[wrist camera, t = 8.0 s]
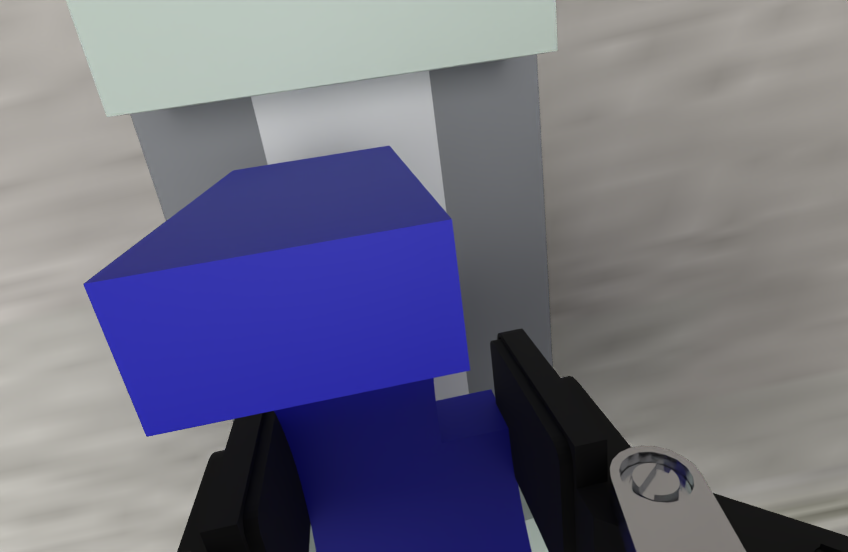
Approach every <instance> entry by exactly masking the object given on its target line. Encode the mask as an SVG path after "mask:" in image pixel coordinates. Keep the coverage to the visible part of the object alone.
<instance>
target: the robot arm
mask: <svg viewBox="0 0 848 552" xmlns="http://www.w3.org/2000/svg"><path fill="white" fill-rule="evenodd" d="M490 350H491V360H492V370H493V380H494V390H495V399H496V405H497V406H498V408H499V410H500V412H501V414H502V416H503V418H504V420H505V422H506V424H507V426H508V428H509V438H510V446H511V454H512V461H513V468H514V474H515V479H516V481H517V483H518V485H519V487H520V490H521V492H522V494H523V496H524V498H525V501H526V503H527V505H528V507H529V509H530V512H531V514H532V516H533V518H534V520H535V523H536V525H537V527H538V529H539V531H540V534H541V536H542V538H543V540H544V542H545V545H546V547H547V549H548V551H549V552H848V536H845V535H842V534H839V533H836V532H833V531H830V530H826V529H823V528H820V527H817V526H814V525H811V524H808V523H805V522H802V521H798V520H795V519H792V518H789V517H786V516H783V515H780V514H777V513H774V512H770V511H767V510H764V509H761V508H758V507H755V506H752V505H749V504H745V503H742V502H739V501H736V500H733V499H730V498H727V497H724V496H721V495H717V494H714V493H712V491H711V489H710V487H709V486H708V484H707V482H706V480H705V479H704V477H703V475H702V474H701V472H700V471H699V470H698V469H697V467H696V466H695V465H694V464H693V463H692V462H690V461H689V460H688V459H686V458H685V457H684V456H682V455H680V454H678V453H675V452H673V451H671V450H668V449H664V448H660V447H656V446H638V447H632V448H631V447H630V445H629V444H628V443H627V442H626V441H625V439H624V438H623V437H622V436H621V434H620V433H619V432H618V431H617V430H616V428H615V427H614V426H613V425H612V423H611V422H610V421H609V420H608V418H607V417H606V416H605V415H604V414H603V412H602V411H601V410H600V409H599V407H598V406H597V405H596V404H595V402H594V401H593V400H592V399H591V398H590V396H589V395H588V394H587V393H586V391H585V390H584V389H583V388H582V386H581V385H580V384H579V383H578V382H577V380H576V379H574V378H573V377H571V376H568V377H563V378H560V377H559V375H558V374H557V373H556V371H555V370H554V369H553V368H552V366H551V365H550V364H549V362H548V361H547V360H546V358H545V357H544V356H543V354H542V353H541V352H540V351H539V349H538V348H537V347H536V345H535V344H534V343H533V341H532V340H531V339H530V337H529V336H528V335H527V334H526V332H525V331H524V330H523V329H516V330H511V331H506V332H501V333H498V335H497V340H493V341H491V342H490ZM310 527H311V523H310V518H309V514H308V509H307V505H306V501H305V497H304V493H303V489H302V485H301V481H300V478H299V474H298V471H297V468H296V464H295V461H294V458H293V455H292V452H291V449H290V446H289V444H288V441H287V439H286V436H285V433H284V431H283V429H282V427H281V424H280V422H279V420H278V418H277V416H276V414H275V412H274V411H270V412H265V413H260V414H255V415H250V416H245V417H240V418H236V419H234V422H233V426H232V429H231V432H230V435H229V439H228V442H227V445H226V448H225V450H223V451H218V452H214V453H213V454H212V455H211V457H210V459H209V461H208V464H207V467H206V470H205V472H204V475H203V478H202V481H201V484H200V487H199V490H198V493H197V496H196V499H195V502H194V505H193V508H192V510H191V513H190V516H189V519H188V522H187V525H186V528H185V531H184V534H183V537H182V540H181V543H180V545H179V548H178V551H177V552H309V544H310Z"/></svg>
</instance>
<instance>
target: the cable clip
mask: <svg viewBox="0 0 848 552" xmlns="http://www.w3.org/2000/svg"><path fill="white" fill-rule="evenodd" d="M84 287H85V289H86V292H87V294H88V297H89V299H90V301H91V304H92V306H93V309H94V311H95V313H96V316H97V318H98V321H99V323H100V325H101V328H102V330H103V333H104V335H105V337H106V340H107V342H108V345H109V347H110V350H111V352H112V354H113V357H114V359H115V362H116V364H117V366H118V369H119V371H120V374H121V376H122V378H123V381H124V383H125V386H126V388H127V390H128V393H129V395H130V398H131V400H132V403H133V405H134V407H135V410H136V412H137V415H138V417H139V419H140V422H141V424H142V427H143V429H144V431H145V434H146V436H147V437H148V436H153V435H157V434H162V433H167V432H172V431H177V430H182V429H187V428H192V427H197V426H201V425H206V424H211V423H216V422H221V421H226V420H231V419H236V418H240V417H245V416H250V415H255V414H260V413H265V412H270V411H274V412H275V414H276V416H277V418H278V420H279V422H280V424H281V427H282V429H283V431H284V433H285V436H286V439H287V441H288V444H289V446H290V449H291V452H292V455H293V458H294V461H295V464H296V468H297V471H298V474H299V478H300V481H301V485H302V489H303V493H304V497H305V501H306V505H307V509H308V514H309V518H310V523H311V528H312V533H313V538H314V543H315V548H316V552H532V550H531V546H530V542H529V537H528V532H527V528H526V523H525V518H524V513H523V508H522V503H521V498H520V492H519V486H518V483H517V481H516V479H515V474H514V468H513V461H512V454H511V446H510V438H509V428H508V426H507V424H506V422H505V420H504V418H503V416H502V414H501V412H500V410H499V408H498V406H497V405H496V399H495V396H494V394H493V392H492V390H491V389H490V390H485V391H480V392H476V393H471V394H466V395H461V396H457V397H452V398H447V399H442V400H437V401H436V398H435V388H434V378H436V377H441V376H446V375H450V374H455V373H460V372H465V371H470V364H469V356H468V348H467V340H466V331H465V323H464V315H463V306H462V298H461V290H460V282H459V273H458V265H457V257H456V248H455V240H454V232H453V224H452V219H451V218H450V216H449V215H448V214H447V213H446V212H445V210H444V209H443V208H442V207H441V206H440V205H439V203H438V202H437V201H436V200H435V199H434V197H433V196H432V195H431V194H430V193H429V192H428V190H427V189H426V188H425V187H424V186H423V185H422V183H421V182H420V181H419V180H418V179H417V177H416V176H415V175H414V174H413V173H412V172H411V170H410V169H409V168H408V167H407V166H406V164H405V163H404V162H403V161H402V160H401V159H400V157H399V156H398V155H397V154H396V153H395V151H394V150H393V149H392V148H391V147H390V146H383V147H376V148H370V149H364V150H357V151H351V152H345V153H339V154H332V155H326V156H320V157H314V158H307V159H301V160H295V161H289V162H282V163H276V164H270V165H264V166H257V167H251V168H245V169H239V170H233V171H231V172H230V173H229V174H227V175H226V176H225V177H224V178H222V179H221V180H220V181H218V182H217V183H216V184H214V185H213V186H212V187H210V188H209V189H208V190H206V191H205V192H204V193H202V194H201V195H200V196H199V197H197V198H196V199H195V200H193V201H192V202H191V203H189V204H188V205H187V206H185V207H184V208H183V209H181V210H180V211H179V212H177V213H176V214H175V215H174V216H172V217H171V218H170V219H168V220H167V221H166V222H164V223H163V224H162V225H160V226H159V227H158V228H156V229H155V230H154V231H152V232H151V233H150V234H148V235H147V236H146V237H145V238H143V239H142V240H141V241H139V242H138V243H137V244H135V245H134V246H133V247H131V248H130V249H129V250H127V251H126V252H125V253H123V254H122V255H121V256H120V257H118V258H117V259H116V260H114V261H113V262H112V263H110V264H109V265H108V266H106V267H105V268H104V269H102V270H101V271H100V272H98V273H97V274H96V275H95V276H93V277H92V278H91V279H89V280H88V281H87V282H85V283H84Z"/></svg>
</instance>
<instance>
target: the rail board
mask: <svg viewBox="0 0 848 552" xmlns="http://www.w3.org/2000/svg"><path fill="white" fill-rule="evenodd" d="M66 2H67V5H68V8H69V11H70V14H71V17H72V19H73V22H74V25H75V28H76V31H77V34H78V37H79V39H80V42H81V45H82V48H83V51H84V54H85V56H86V59H87V62H88V65H89V68H90V71H91V73H92V76H93V79H94V82H95V85H96V88H97V91H98V93H99V96H100V99H101V102H102V105H103V108H104V110H105V113H106V116H107V117H110V116H118V115H126V114H130V115H131V118H132V121H133V124H134V127H135V130H136V133H137V136H138V139H139V142H140V145H141V148H142V151H143V154H144V157H145V160H146V163H147V166H148V169H149V171H150V174H151V177H152V180H153V183H154V186H155V189H156V192H157V195H158V198H159V201H160V204H161V207H162V210H163V213H164V216H165V219H166V221H167V220H168V219H170V218H171V217H172V216H174V215H175V214H176V213H177V212H179V211H180V210H181V209H183V208H184V207H185V206H187V205H188V204H189V203H191V202H192V201H193V200H195V199H196V198H197V197H199V196H200V195H201V194H202V193H204V192H205V191H206V190H208V189H209V188H210V187H212V186H213V185H214V184H216V183H217V182H218V181H220V180H221V179H222V178H224V177H225V176H226V175H227V174H229V173H230V172H231V171H233V170H239V169H245V168H251V167H257V166H264V165H270V164H276V163H282V162H289V161H295V160H301V159H307V158H314V157H320V156H326V155H332V154H339V153H345V152H351V151H357V150H364V149H370V148H376V147H383V146H390V147H391V148H392V149H393V150H394V151H395V153H396V154H397V155H398V156H399V157H400V159H401V160H402V161H403V162H404V163H405V164H406V166H407V167H408V168H409V169H410V170H411V172H412V173H413V174H414V175H415V176H416V177H417V179H418V180H419V181H420V182H421V183H422V185H423V186H424V187H425V188H426V189H427V190H428V192H429V193H430V194H431V195H432V196H433V197H434V199H435V200H436V201H437V202H438V203H439V205H440V206H441V207H442V208H443V209H444V210H445V212H446V213H447V214H448V215H449V216H450V218H451V219H452V224H453V232H454V240H455V248H456V257H457V265H458V273H459V282H460V290H461V298H462V306H463V315H464V323H465V331H466V340H467V348H468V356H469V364H470V371H465V372H460V373H455V374H450V375H446V376H441V377H436V378H434V388H435V398H436V401H437V400H442V399H447V398H452V397H457V396H461V395H466V394H471V393H476V392H480V391H485V390H490V389H491V390H492V392H493V394H494V396H495V390H494V380H493V370H492V360H491V350H490V342H491V341H493V340H497V335H498V333H501V332H506V331H511V330H516V329H523V330H524V331H525V332H526V334H527V335H528V336H529V337H530V339H531V340H532V341H533V343H534V344H535V345H536V347H537V348H538V349H539V351H540V352H541V353H542V354H543V356H544V357H545V358H546V360H547V361H548V362H549V364H550V365H551V366H552V368H553V364H552V344H551V324H550V305H549V285H548V265H547V245H546V226H545V206H544V186H543V166H542V147H541V127H540V107H539V87H538V68H537V54H541V53H547V52H553V51H558V50H557V23H556V0H66ZM233 422H234V419H233ZM518 486H519V485H518ZM519 492H520V498H521V503H522V508H523V513H524V518H525V523H526V528H527V532H528V537H529V542H530V546H531V550H532V552H549V551H548V549H547V547H546V545H545V542H544V540H543V538H542V536H541V534H540V531H539V529H538V527H537V525H536V523H535V520H534V518H533V516H532V514H531V512H530V509H529V507H528V505H527V503H526V501H525V498H524V496H523V494H522V492H521V490H520V487H519ZM309 552H316V548H315V543H314V538H313V533H312V528H311V527H310V544H309Z"/></svg>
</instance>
